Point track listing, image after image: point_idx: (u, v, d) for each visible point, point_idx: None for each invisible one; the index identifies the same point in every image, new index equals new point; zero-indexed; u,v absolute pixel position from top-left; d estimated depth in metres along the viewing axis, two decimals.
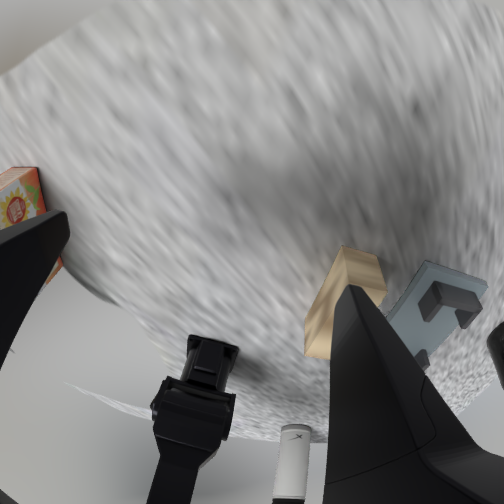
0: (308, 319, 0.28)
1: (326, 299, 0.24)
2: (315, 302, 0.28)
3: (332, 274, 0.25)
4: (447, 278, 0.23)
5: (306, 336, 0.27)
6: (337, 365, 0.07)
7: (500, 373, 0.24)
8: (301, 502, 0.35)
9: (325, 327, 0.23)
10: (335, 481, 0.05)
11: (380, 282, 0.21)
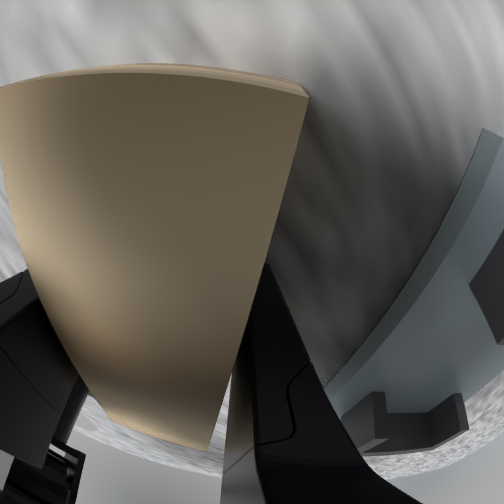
0: None
1: None
2: None
3: None
4: None
5: None
6: None
7: None
8: None
9: (79, 360, 0.05)
10: (225, 471, 0.05)
11: (261, 80, 0.03)
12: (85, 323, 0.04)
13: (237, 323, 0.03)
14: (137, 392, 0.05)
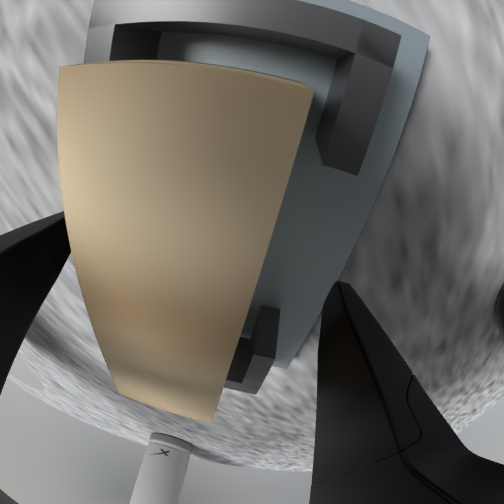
0: None
1: None
2: None
3: None
4: None
5: None
6: (324, 363, 0.07)
7: None
8: None
9: (99, 321, 0.06)
10: (321, 481, 0.05)
11: (278, 79, 0.03)
12: (116, 276, 0.05)
13: (255, 263, 0.04)
14: (153, 352, 0.06)
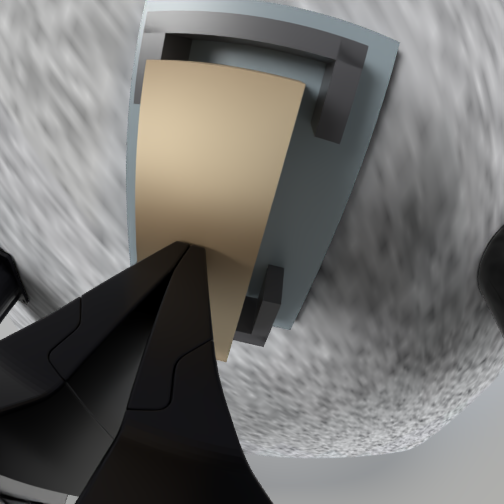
0: None
1: None
2: None
3: None
4: (216, 8, 0.07)
5: None
6: None
7: None
8: None
9: (145, 252, 0.08)
10: None
11: (285, 77, 0.06)
12: (170, 206, 0.07)
13: (272, 187, 0.06)
14: None
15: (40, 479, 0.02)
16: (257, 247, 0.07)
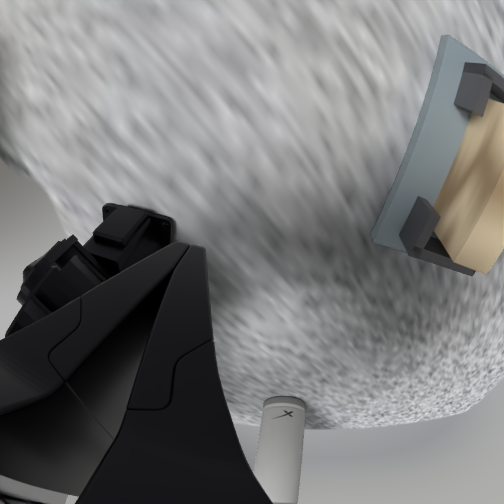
0: None
1: (479, 162, 0.12)
2: (448, 185, 0.15)
3: (476, 130, 0.12)
4: None
5: (445, 236, 0.15)
6: None
7: None
8: None
9: (494, 196, 0.11)
10: None
11: None
12: None
13: None
14: None
15: (40, 479, 0.02)
16: None
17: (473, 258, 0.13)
